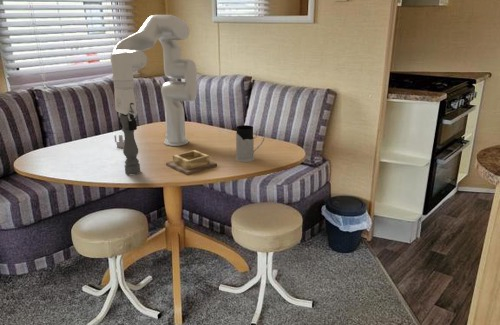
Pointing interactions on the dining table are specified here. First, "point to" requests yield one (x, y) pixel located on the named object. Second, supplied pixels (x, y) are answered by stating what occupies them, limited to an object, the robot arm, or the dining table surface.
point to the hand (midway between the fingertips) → (128, 127)
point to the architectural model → (120, 141)
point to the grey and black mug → (245, 143)
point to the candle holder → (129, 148)
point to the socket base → (191, 162)
